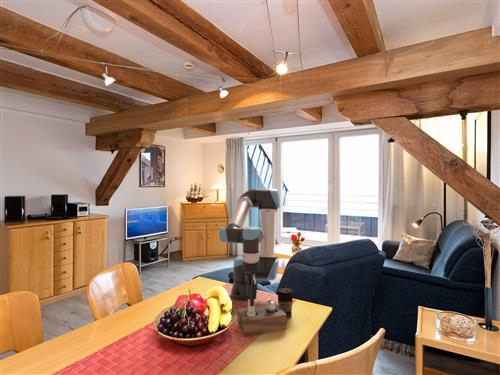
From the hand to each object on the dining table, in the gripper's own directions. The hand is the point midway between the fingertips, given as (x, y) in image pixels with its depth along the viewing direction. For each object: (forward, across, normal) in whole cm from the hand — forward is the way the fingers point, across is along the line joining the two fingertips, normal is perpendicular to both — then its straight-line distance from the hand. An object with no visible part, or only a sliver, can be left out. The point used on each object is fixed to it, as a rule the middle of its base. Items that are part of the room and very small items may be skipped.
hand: (251, 311), depth 128 cm
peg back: (+3, 0, +10) cm, 10 cm away
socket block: (+8, 0, +5) cm, 9 cm away
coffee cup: (+8, -7, +20) cm, 23 cm away
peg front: (+6, 0, 0) cm, 6 cm away
